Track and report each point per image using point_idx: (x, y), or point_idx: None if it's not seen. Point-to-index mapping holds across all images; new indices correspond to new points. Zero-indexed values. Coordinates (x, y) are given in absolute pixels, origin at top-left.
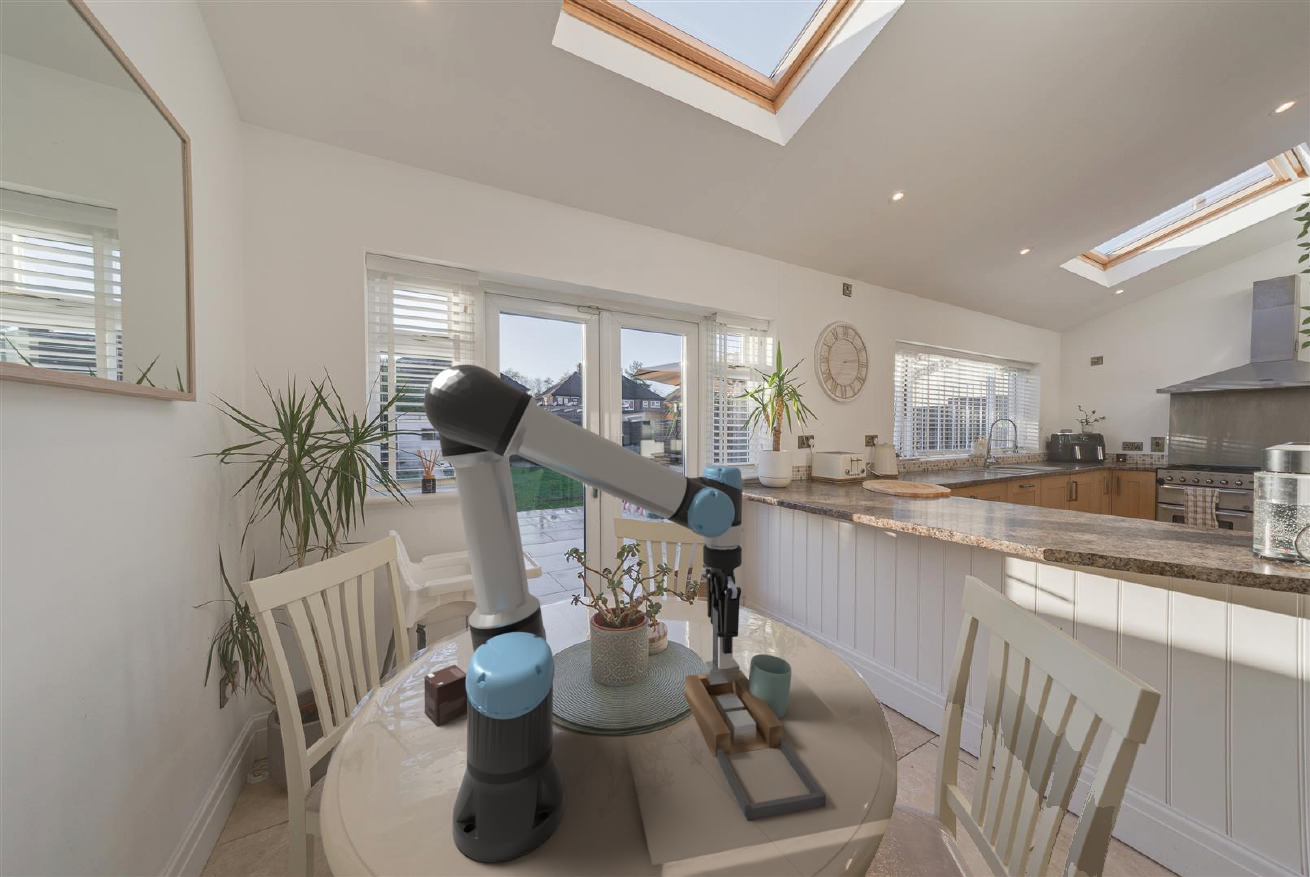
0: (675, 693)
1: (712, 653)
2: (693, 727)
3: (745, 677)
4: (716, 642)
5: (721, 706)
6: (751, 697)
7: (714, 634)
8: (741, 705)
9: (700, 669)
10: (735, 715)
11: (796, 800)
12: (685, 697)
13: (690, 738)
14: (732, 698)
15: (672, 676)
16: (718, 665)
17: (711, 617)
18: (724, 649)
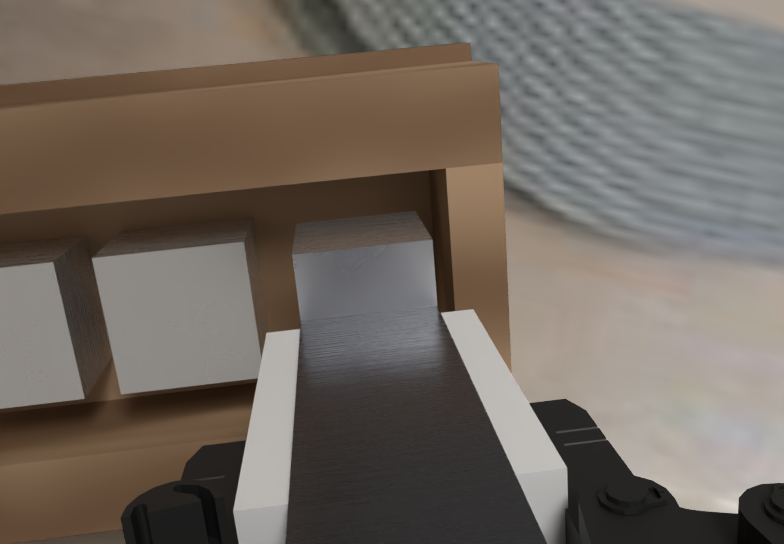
0: (547, 6)
1: (461, 330)
2: (192, 56)
3: None
4: (338, 421)
5: (137, 251)
6: (183, 462)
7: (426, 446)
8: (131, 380)
9: (777, 229)
10: (17, 316)
11: None
12: (420, 49)
13: (91, 15)
14: (210, 343)
15: (743, 21)
16: (290, 338)
17: (654, 539)
18: (200, 472)
